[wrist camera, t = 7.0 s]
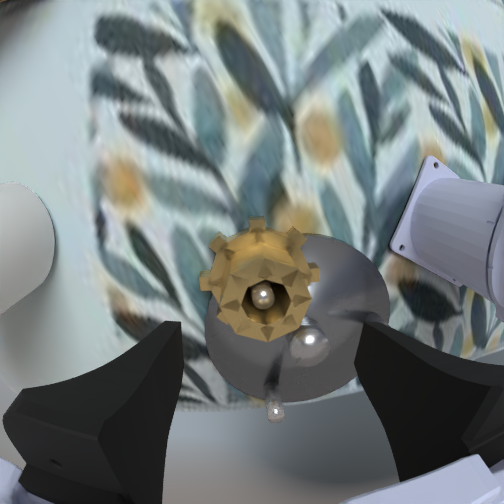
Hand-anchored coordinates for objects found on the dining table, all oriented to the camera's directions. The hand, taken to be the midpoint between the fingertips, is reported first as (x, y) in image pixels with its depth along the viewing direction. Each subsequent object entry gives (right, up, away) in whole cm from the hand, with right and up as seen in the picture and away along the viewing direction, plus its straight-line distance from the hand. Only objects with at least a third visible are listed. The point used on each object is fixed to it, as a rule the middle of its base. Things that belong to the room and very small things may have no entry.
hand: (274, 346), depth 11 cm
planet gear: (0, +2, +8) cm, 9 cm away
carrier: (+3, -2, +11) cm, 11 cm away
